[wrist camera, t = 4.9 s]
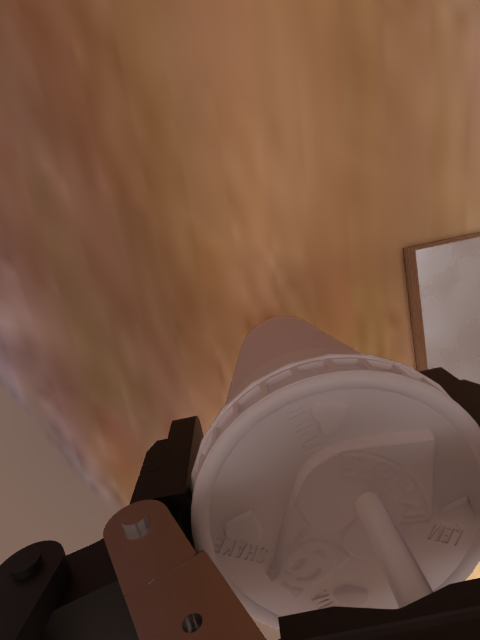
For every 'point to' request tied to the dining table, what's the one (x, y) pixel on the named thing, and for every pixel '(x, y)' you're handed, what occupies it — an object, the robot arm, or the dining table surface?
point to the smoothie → (334, 479)
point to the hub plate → (446, 305)
